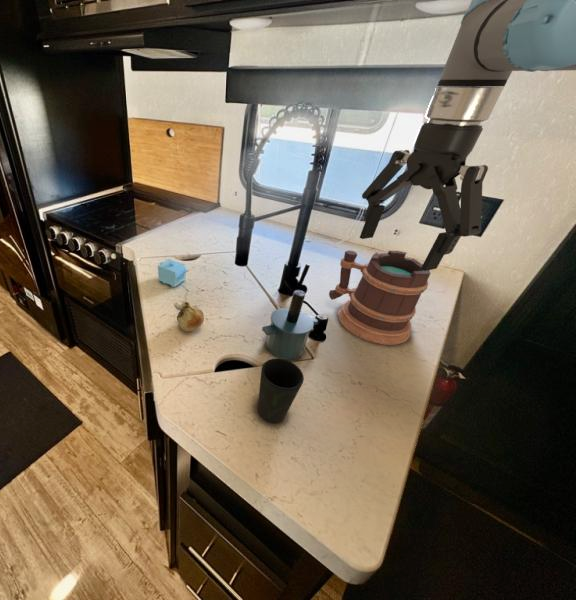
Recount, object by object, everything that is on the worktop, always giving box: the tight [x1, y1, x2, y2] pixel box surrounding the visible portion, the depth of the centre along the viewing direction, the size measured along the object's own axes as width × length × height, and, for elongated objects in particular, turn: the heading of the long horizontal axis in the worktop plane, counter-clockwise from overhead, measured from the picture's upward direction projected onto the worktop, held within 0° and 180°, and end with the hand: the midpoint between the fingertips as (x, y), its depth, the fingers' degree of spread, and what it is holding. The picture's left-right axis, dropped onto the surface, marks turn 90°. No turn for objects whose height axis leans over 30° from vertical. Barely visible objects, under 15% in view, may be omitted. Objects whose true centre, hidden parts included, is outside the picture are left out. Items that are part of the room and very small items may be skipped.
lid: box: [270, 289, 315, 335], centre depth 74 cm, size 10×10×9 cm
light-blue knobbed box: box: [157, 259, 190, 288], centre depth 105 cm, size 12×6×8 cm, turn 54°
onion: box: [173, 301, 205, 332], centre depth 85 cm, size 8×8×8 cm
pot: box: [261, 315, 319, 361], centre depth 79 cm, size 9×15×8 cm, turn 108°
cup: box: [257, 357, 305, 424], centre depth 62 cm, size 8×8×12 cm
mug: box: [328, 250, 431, 346], centre depth 85 cm, size 18×23×20 cm
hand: (394, 251), depth 58 cm, fingers open, 13 cm apart
